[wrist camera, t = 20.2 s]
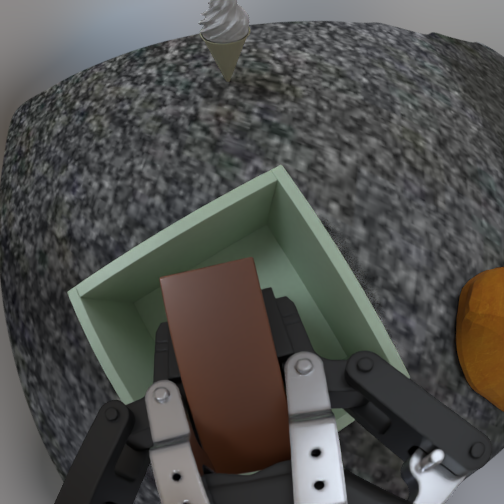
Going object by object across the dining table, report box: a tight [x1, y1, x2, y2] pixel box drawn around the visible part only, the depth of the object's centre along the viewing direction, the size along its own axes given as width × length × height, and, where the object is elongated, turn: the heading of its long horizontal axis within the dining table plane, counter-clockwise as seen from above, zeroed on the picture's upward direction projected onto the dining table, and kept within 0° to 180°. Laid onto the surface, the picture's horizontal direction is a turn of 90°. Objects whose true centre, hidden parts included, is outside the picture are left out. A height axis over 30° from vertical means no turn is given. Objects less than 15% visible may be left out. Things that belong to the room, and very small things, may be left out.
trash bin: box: [67, 165, 410, 475], centre depth 20 cm, size 16×16×10 cm
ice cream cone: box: [199, 0, 250, 82], centre depth 23 cm, size 5×5×15 cm
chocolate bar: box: [159, 257, 291, 475], centre depth 14 cm, size 3×7×11 cm, turn 13°
